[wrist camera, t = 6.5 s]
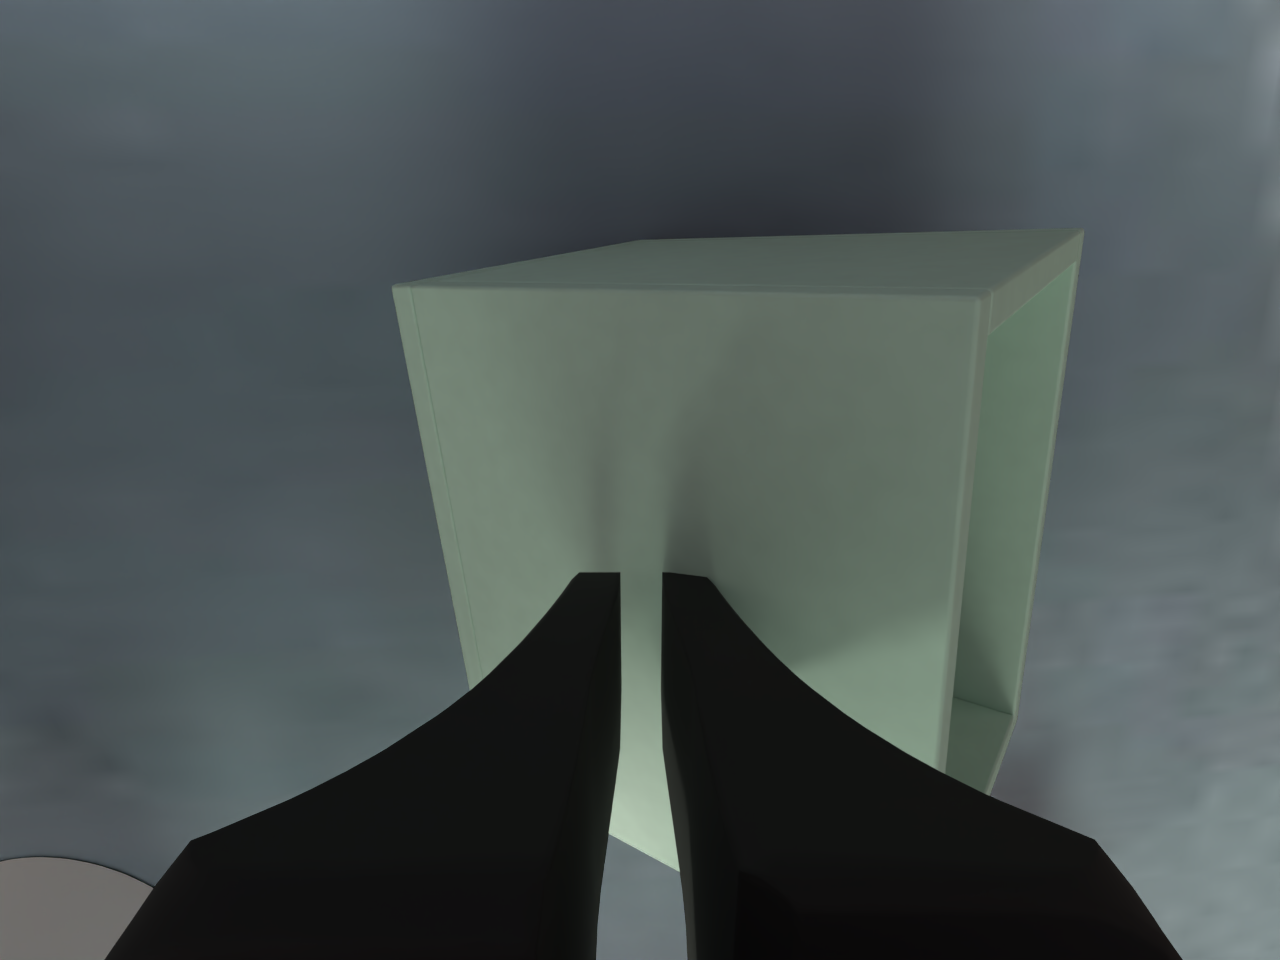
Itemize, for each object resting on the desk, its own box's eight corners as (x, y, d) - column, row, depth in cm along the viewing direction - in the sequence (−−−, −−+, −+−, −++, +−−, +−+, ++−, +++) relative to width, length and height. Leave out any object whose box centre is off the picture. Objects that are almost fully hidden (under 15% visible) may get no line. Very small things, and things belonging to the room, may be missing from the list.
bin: (483, 767, 16) (916, 1002, 11) (389, 285, 12) (982, 296, 7) (666, 611, 21) (1017, 720, 16) (639, 239, 17) (1085, 227, 12)
